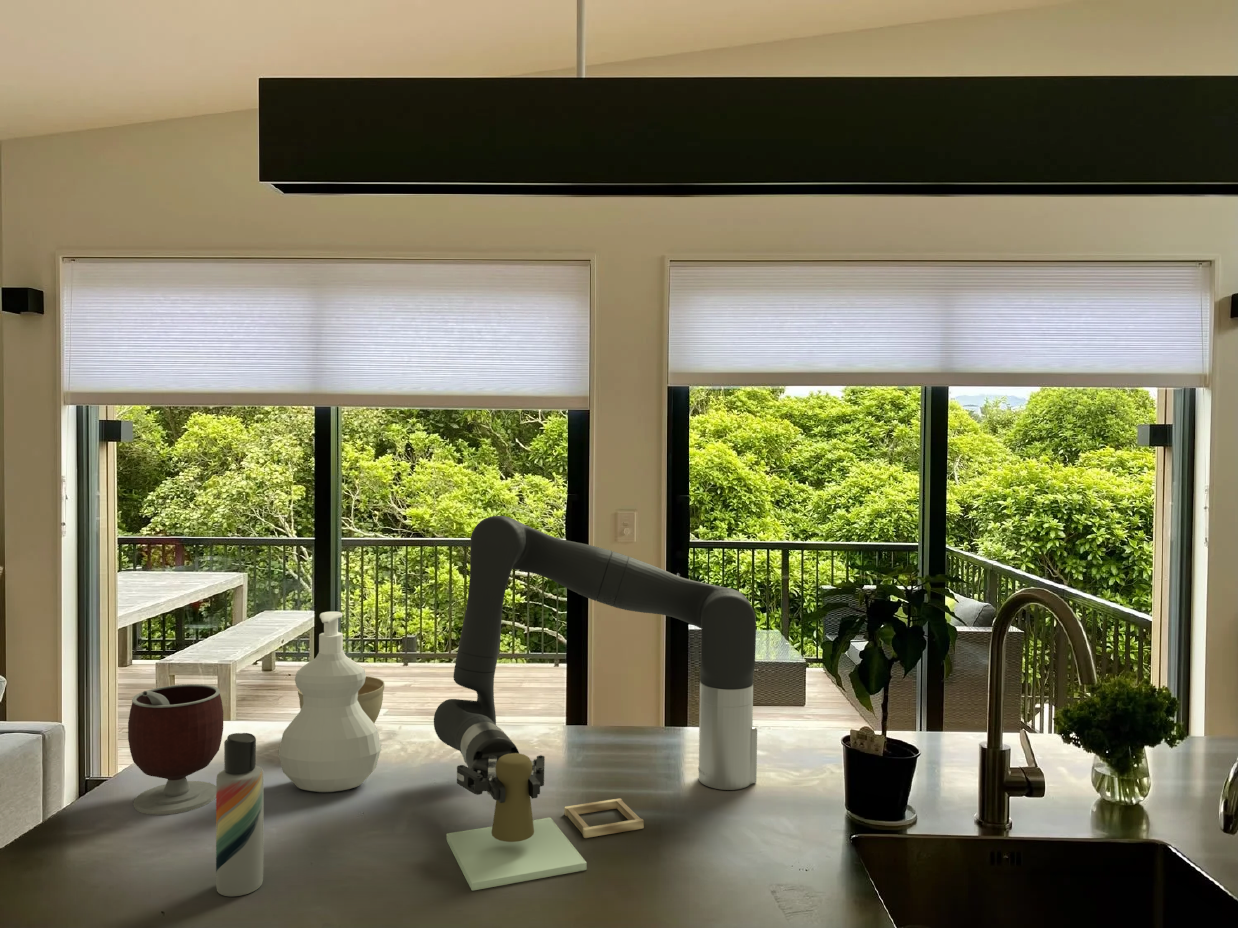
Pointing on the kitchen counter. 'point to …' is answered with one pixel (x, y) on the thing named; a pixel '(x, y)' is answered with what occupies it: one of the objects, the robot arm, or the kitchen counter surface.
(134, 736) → the mate gourd
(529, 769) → the cork
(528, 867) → the sage board
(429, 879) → the kitchen counter surface
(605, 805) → the oak holder frame
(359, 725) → the soap bottle
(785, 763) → the kitchen counter surface
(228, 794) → the lotion bottle
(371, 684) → the planter bowl
